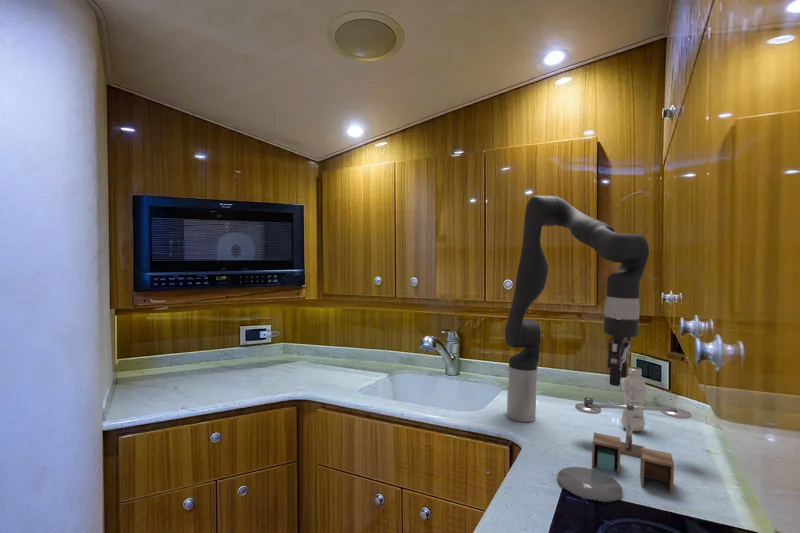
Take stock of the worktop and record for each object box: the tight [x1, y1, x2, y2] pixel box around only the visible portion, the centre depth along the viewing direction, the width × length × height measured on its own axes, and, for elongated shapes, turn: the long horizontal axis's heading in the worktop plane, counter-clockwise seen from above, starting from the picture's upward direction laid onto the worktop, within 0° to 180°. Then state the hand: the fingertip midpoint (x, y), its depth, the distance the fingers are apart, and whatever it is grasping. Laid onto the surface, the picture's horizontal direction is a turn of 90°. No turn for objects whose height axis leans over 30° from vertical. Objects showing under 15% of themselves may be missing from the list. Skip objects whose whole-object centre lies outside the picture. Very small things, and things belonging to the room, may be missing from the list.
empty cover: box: [639, 447, 675, 495], centre depth 101 cm, size 6×6×7 cm
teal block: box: [596, 446, 615, 472], centre depth 110 cm, size 4×4×4 cm
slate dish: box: [557, 466, 623, 503], centre depth 99 cm, size 14×14×1 cm
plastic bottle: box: [620, 366, 647, 433], centre depth 133 cm, size 6×7×20 cm
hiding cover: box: [591, 432, 622, 475], centre depth 110 cm, size 6×6×7 cm
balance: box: [574, 397, 692, 459], centre depth 118 cm, size 29×7×14 cm, turn 62°
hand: (618, 381), depth 102 cm, fingers open, 8 cm apart
